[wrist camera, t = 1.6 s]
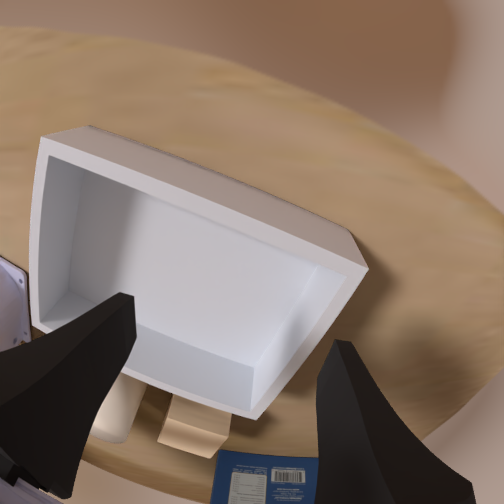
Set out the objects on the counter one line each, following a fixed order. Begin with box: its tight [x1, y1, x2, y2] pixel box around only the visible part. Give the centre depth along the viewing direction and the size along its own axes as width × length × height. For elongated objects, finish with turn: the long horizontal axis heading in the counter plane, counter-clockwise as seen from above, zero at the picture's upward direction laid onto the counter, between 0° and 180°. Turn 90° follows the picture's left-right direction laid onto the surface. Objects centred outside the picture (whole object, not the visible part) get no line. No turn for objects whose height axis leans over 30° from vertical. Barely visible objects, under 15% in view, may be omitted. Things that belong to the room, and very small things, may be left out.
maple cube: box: [157, 394, 232, 458], centre depth 25 cm, size 5×5×5 cm
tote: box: [29, 126, 369, 420], centre depth 19 cm, size 18×14×5 cm
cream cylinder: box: [89, 372, 148, 443], centre depth 23 cm, size 5×5×7 cm
